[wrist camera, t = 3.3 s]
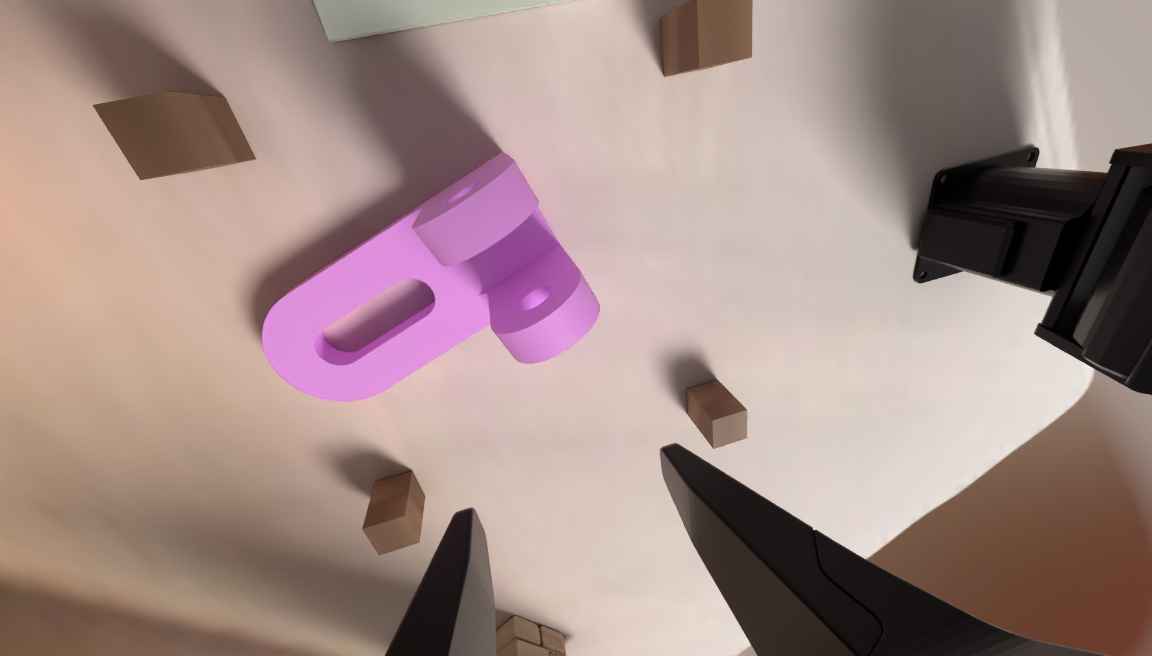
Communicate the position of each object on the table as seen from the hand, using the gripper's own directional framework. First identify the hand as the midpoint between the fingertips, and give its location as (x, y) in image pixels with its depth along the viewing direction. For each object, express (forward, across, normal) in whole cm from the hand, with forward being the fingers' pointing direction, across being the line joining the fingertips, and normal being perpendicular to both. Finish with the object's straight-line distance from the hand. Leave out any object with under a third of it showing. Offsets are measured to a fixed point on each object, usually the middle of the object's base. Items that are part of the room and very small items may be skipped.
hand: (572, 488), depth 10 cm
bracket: (+12, +4, -2) cm, 13 cm away
